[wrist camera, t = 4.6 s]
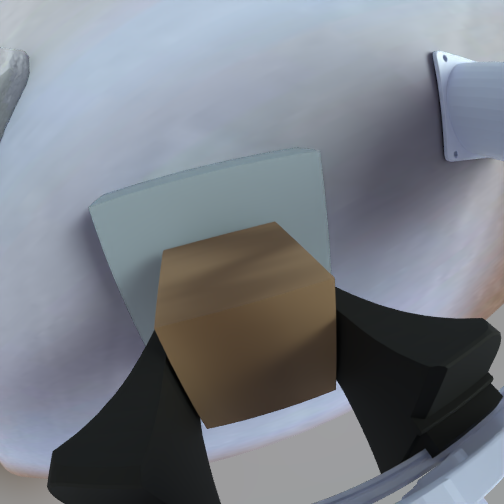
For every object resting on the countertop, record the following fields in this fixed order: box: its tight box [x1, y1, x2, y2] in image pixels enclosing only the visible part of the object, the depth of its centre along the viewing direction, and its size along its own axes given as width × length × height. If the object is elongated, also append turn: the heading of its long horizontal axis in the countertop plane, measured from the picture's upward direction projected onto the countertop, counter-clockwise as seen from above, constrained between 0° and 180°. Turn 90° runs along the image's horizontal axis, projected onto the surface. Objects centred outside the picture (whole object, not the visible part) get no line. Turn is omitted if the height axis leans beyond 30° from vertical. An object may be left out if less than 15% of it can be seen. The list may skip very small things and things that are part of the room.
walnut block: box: [154, 221, 336, 429], centre depth 10 cm, size 4×4×5 cm
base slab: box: [88, 147, 331, 346], centre depth 15 cm, size 10×10×3 cm
